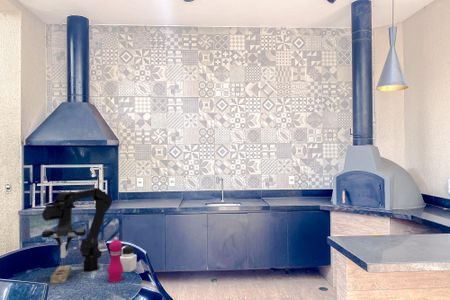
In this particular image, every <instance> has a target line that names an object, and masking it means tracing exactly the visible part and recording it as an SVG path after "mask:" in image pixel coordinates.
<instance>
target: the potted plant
mask: <svg viewBox="0 0 450 300" xmlns="http://www.w3.org/2000/svg"><path fill="white" fill-rule="evenodd" d="M134 249H135V248H134V246H132V245H124V246H122V248H121V255H120V261H121V264H122V266H123V272H124V273H131V272H133V271H134V270H136V269H137V257H138V256H137V254H134V251H135V250H134ZM123 272H122V273H123Z"/></svg>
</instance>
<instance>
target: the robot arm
mask: <svg viewBox="0 0 450 300" xmlns="http://www.w3.org/2000/svg"><path fill="white" fill-rule="evenodd" d="M89 197H92V200H93V201H94V208H95V213H94V216H93V219H92V222H91V224H90V225H91V226H90V228H89V231H88V235H87V236H86V234H87V229H86V228H84V227H83V228H80V227H79V228H76V230H74V225H73V224H72V213H73V209H77V208H76V207H77V206H76V205H74V203H76V202H78V201H79V200H82V199H86V198H89ZM112 198H113V197H112V196H110V195H109V194H108V193H106V192H105V191H102V189H100V188H99V187H91V188H87V189H83V190H78V191H61V192H59V193H58V194H57V197H56V198H55V200H53V203H52V204H51V205H45V208H44V209H43V210H42V214H41V216H42V219H43V220H44V221H45V222H49V221H54V220H58V223H57V226H56V229H55V230H54V229H52V228H51V229H45V230H43V231H42V233H41V238H50V237H51V236H53V237H52V238H53V240H55V241H56V242H57V244H58V247H59V250H60V251H61V244H62V243H63V237H67V238H66V239H67V240H66V242H67V245H66V251H67V252H68V249H69V247H70V244H71V241H72V239H75V237H76V236H77V237H82V236H84V237H85V236H86V238H85V239H81V243H80V246H79V251H80V253H81V256H82V258H84V260H83V271H84V272H88V271H98V270H99V267H100V266H99V258H101V257H102V254H103V252H102V251H101V250H100V249H99V241H98V239H99V234H100V231H101V228H102V225H103V221H104V218H105V215H106V212H107V211H108V210H109V209H110V208H111V206H112V203H113V199H112Z"/></svg>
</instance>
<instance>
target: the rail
mask: <svg viewBox="0 0 450 300" xmlns="http://www.w3.org/2000/svg"><path fill="white" fill-rule="evenodd" d="M71 273H72V265H59V266H57V268H56V269H55V270H54V271H53V273H52V274H51V275H50V284H59V283H63V284H64V283H65V282H66V280H67V279H68V277H69V276H70V274H71Z"/></svg>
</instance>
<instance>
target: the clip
mask: <svg viewBox="0 0 450 300" xmlns="http://www.w3.org/2000/svg"><path fill="white" fill-rule="evenodd" d="M66 245H67V241H62V244H61V250H60V259H63V258H64V259H65V258H66V257H67V256H68V250H67V251H66Z"/></svg>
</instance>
